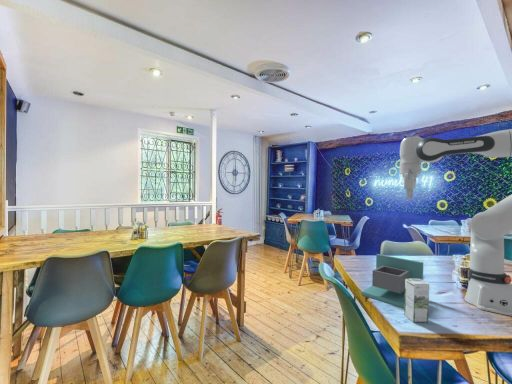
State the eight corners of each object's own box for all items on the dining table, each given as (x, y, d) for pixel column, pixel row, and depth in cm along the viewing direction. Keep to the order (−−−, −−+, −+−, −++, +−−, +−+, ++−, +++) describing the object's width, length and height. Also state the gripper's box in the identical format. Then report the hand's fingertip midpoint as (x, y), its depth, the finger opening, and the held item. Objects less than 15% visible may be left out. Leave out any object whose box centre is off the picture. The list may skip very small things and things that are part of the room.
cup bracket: (423, 297, 119) (423, 262, 119) (410, 309, 107) (410, 270, 107) (377, 285, 134) (378, 253, 134) (361, 294, 121) (362, 260, 121)
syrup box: (418, 315, 102) (419, 277, 102) (428, 323, 96) (429, 283, 96) (403, 315, 102) (404, 277, 102) (413, 323, 96) (414, 283, 96)
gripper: (416, 168, 118) (416, 199, 118) (418, 171, 135) (417, 198, 135) (400, 169, 121) (400, 199, 122) (404, 171, 139) (403, 198, 139)
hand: (409, 198), depth 129 cm, fingers open, 8 cm apart
